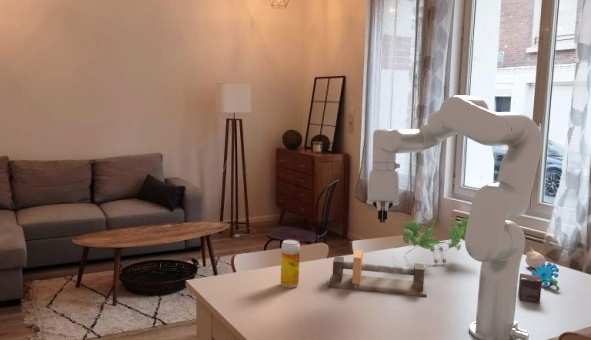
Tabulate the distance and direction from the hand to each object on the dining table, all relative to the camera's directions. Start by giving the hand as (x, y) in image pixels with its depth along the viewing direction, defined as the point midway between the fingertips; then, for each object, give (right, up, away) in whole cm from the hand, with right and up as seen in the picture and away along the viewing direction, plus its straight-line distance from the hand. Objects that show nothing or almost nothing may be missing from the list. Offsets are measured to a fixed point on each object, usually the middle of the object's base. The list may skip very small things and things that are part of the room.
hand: (382, 221), depth 167 cm
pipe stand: (-1, -22, +4) cm, 22 cm away
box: (+47, -25, -4) cm, 53 cm away
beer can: (-31, -22, +1) cm, 38 cm away
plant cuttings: (+26, -19, +33) cm, 46 cm away
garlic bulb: (+64, -21, +27) cm, 72 cm away
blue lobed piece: (+58, -23, +9) cm, 64 cm away
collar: (-8, -20, +5) cm, 22 cm away
